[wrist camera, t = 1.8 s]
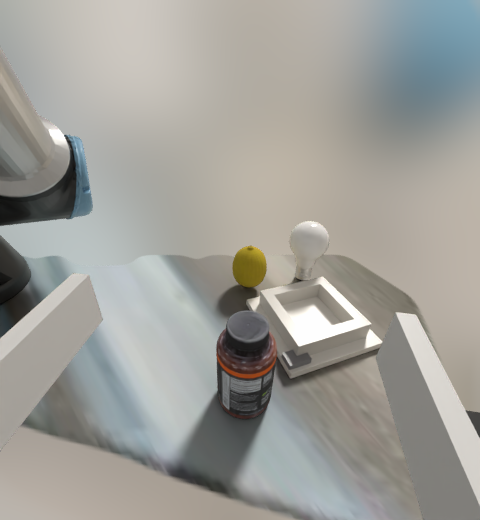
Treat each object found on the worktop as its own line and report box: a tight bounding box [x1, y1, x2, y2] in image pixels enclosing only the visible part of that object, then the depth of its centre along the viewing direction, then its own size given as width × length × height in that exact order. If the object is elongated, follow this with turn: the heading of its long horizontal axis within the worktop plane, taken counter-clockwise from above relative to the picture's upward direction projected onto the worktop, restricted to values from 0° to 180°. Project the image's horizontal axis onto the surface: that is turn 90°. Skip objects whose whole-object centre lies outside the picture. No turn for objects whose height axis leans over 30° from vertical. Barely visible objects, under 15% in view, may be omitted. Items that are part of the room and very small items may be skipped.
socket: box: [246, 277, 382, 379], centre depth 41 cm, size 14×14×4 cm
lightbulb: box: [290, 221, 329, 280], centre depth 48 cm, size 6×6×11 cm
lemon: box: [233, 246, 266, 288], centre depth 47 cm, size 6×6×8 cm
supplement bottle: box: [216, 310, 277, 419], centre depth 29 cm, size 6×6×11 cm
